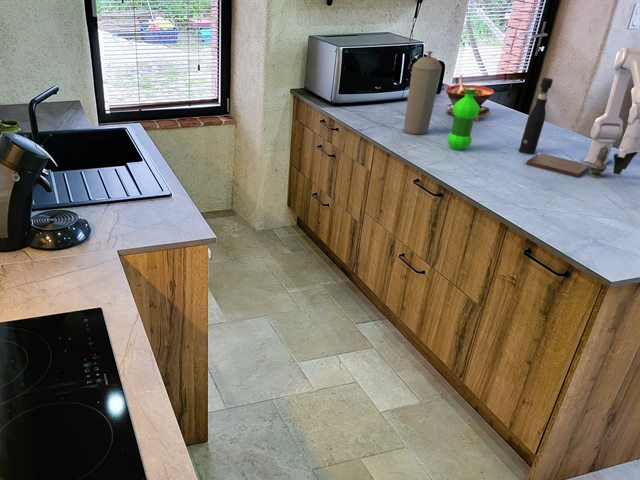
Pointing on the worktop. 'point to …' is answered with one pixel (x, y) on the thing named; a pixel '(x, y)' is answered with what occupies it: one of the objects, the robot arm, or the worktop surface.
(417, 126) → the canister
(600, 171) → the grey stone baluster
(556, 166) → the cutting board
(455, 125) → the plastic bottle
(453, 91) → the stew
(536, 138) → the black bottle
